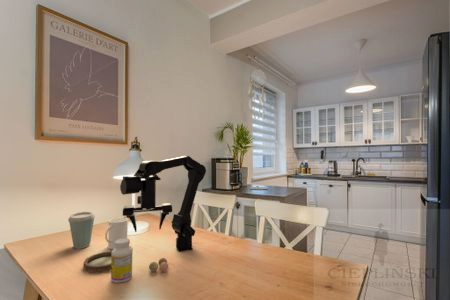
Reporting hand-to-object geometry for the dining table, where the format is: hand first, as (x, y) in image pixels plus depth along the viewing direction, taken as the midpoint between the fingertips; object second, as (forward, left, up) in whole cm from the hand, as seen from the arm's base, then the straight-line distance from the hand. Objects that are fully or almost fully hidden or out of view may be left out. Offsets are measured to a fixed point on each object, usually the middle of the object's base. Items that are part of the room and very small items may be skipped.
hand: (148, 230), depth 96 cm
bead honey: (-5, +8, -10) cm, 14 cm away
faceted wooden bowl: (+16, -2, -12) cm, 20 cm away
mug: (+14, -20, -12) cm, 27 cm away
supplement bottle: (+9, +12, -12) cm, 19 cm away
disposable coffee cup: (+29, -26, -12) cm, 40 cm away
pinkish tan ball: (-5, +12, -10) cm, 17 cm away
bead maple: (-2, +10, -10) cm, 15 cm away
